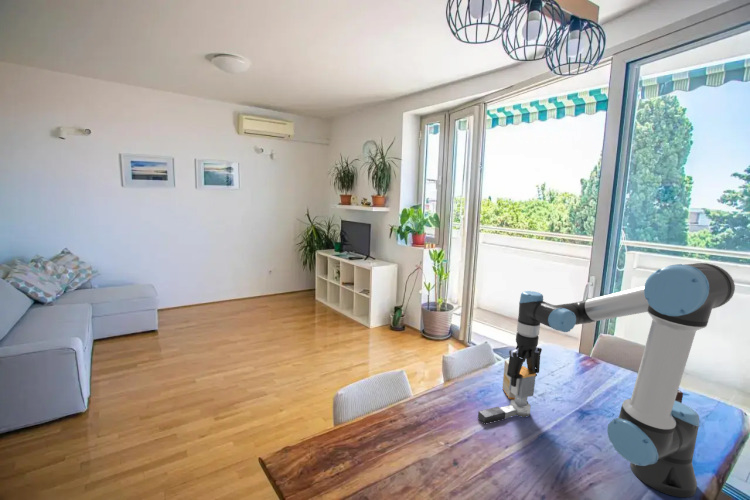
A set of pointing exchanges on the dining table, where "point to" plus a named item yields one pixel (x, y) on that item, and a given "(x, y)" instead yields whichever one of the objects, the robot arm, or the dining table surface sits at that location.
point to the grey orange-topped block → (525, 382)
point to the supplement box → (507, 381)
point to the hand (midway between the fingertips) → (521, 392)
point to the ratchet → (506, 411)
